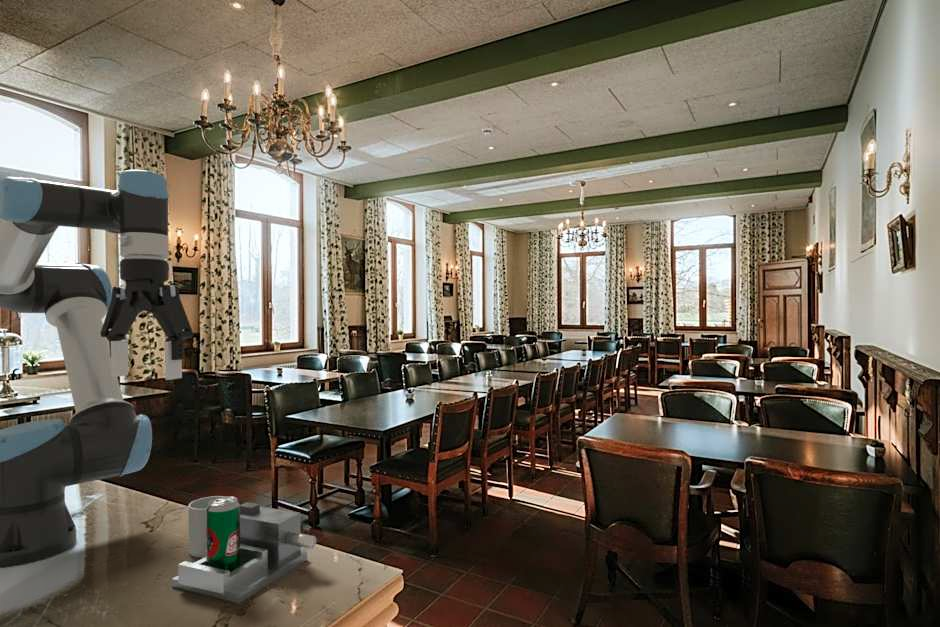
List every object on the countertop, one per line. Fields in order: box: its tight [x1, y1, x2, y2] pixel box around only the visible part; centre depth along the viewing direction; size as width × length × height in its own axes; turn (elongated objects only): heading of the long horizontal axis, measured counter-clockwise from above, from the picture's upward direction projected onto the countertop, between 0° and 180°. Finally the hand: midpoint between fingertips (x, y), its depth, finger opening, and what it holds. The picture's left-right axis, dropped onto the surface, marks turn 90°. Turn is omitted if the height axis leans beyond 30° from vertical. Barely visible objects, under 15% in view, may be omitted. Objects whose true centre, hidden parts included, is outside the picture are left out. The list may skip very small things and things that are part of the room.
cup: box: [187, 495, 227, 558], centre depth 104 cm, size 7×10×9 cm
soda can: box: [206, 496, 241, 572], centre depth 90 cm, size 5×5×12 cm
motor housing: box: [171, 501, 317, 604], centre depth 93 cm, size 18×17×10 cm
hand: (146, 377), depth 99 cm, fingers open, 13 cm apart
